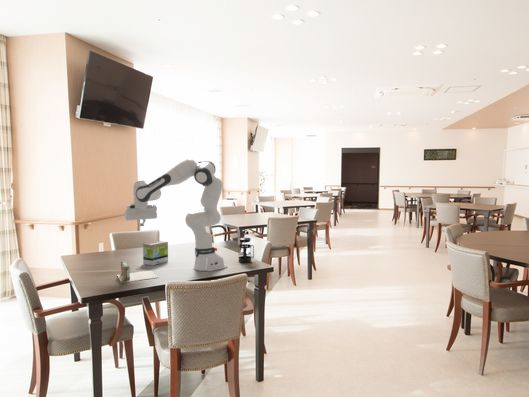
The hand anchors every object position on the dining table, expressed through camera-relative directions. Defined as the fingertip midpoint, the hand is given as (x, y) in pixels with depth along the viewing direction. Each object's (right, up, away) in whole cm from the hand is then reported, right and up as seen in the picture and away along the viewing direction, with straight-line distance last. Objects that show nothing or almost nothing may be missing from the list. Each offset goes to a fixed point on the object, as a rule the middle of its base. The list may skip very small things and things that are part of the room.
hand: (141, 226), depth 246 cm
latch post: (-1, -31, -28) cm, 41 cm away
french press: (+68, -27, +20) cm, 76 cm away
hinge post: (-7, -30, -14) cm, 34 cm away
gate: (-2, -30, -22) cm, 37 cm away
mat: (+3, -30, -16) cm, 34 cm away
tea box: (+4, -28, +20) cm, 35 cm away
